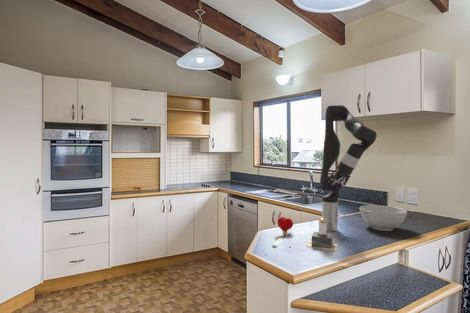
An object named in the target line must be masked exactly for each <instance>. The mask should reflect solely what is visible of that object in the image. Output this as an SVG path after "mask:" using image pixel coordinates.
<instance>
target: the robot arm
mask: <svg viewBox="0 0 470 313" xmlns="http://www.w3.org/2000/svg"><path fill="white" fill-rule="evenodd" d="M324 116H325V127H324V129H325V130H324V131H325V133H324V142H323V151H322V152H323V154H322V165H321V166H322V168H321V172H320V177H319V178H320V179H319V187H320V189H321V190H322V191H328V192H329V193H328V194H324V195H323V196H322V198H321V200H322V201H321V202H322V203H321V218H325V219H326V232H337V231H338V225H339V224H338V222H339V215H338V214H339V195H340V190H341V188H342V187H343V186H346V185H347V183H348V181H349V179H350V177H351V175H352V173H353V172H354V170H355V168H356V167H357V165H358V163H359V160H360V159H361V158H362V156H363V154H364V152H365V151H367V150H368V149H369V148H370V147H371V146H372V145H373V144H374V143H375V141H376V139H377V132H376V130H374V129H372V128H370V127H367V126H365V125H364V123H362V122H361V121H360V120H358V119H357V118H355V117H354V115H353V114H352V113H351V112H350V110H349V109H348V108H347V107H346V106H345V105H342V104H329V105H327V107H326V108H325V115H324ZM334 122H344V127H345V129H346V130H347V131H348V132H350V133H351V135H352V136H353V137H354V139H356V140H358V141H360V142H359V143H355V142H354V143H351V145H350V146H349V147H348V149H347V150H346V152H345V153H344V155H343V157H342V158H341V159H340V161H339V163H338V165H337V167H336V169H337V171H335V170H333V171H332V173H331V174H329V172H330V169H331V168H332V166H333V165H334V163H335V162H336V161H337V159H338V158H339V156H340V152H341V151H340V150H341V141H340V139H339V137H338V136H337V134H336V132H335V129H334V126H335V125H334V124H335V123H334Z"/></svg>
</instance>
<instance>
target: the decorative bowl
mask: <svg viewBox="0 0 470 313" xmlns="http://www.w3.org/2000/svg"><path fill="white" fill-rule="evenodd" d="M359 213H360V214H361V217H362V218H363V220H364V221H365V222H366V224H368V225H369V226H371V227H370V228H371V229H373V230H375V231H376V230H377V231H381V232H390V231H393V230H394V228H397V227H398V226H400V225H401V224H402V223H403V221H404V220H405V219H406V217H407V214H408V211H407V210H406V209H403V208H400V207H395V206H389V205H388V206H387V205H378V204H377V205H376V204H373V205H371V204H369V205H367V204H366V205H361V206H360V207H359Z"/></svg>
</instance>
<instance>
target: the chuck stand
mask: <svg viewBox="0 0 470 313" xmlns="http://www.w3.org/2000/svg"><path fill="white" fill-rule="evenodd" d="M333 236H334V234H333V233H330V232H326V236H319V231H314V232H313V233H312V235H311V239H309V240H308V242H307V243H306V245H305V248H308V249H314V250H315V249H316V250H323V251H332V252H336V250H337V247H338V242H334V241H333V238H334V237H333Z"/></svg>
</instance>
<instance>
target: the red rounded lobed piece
mask: <svg viewBox="0 0 470 313" xmlns="http://www.w3.org/2000/svg"><path fill="white" fill-rule="evenodd" d="M277 226H278V228H279V229H280V230H281V231H282V235H283V236H287V235H288V230H291V229H292V228H293V226H294V222H293V220H292V219H291V218H290V217H288V218H286V217H285V216H281V217H279V218H278V219H277Z"/></svg>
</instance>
